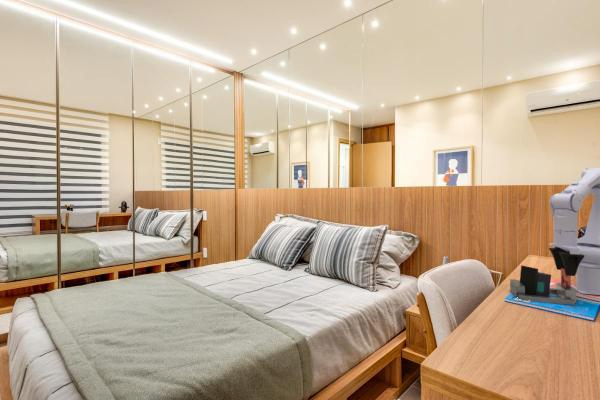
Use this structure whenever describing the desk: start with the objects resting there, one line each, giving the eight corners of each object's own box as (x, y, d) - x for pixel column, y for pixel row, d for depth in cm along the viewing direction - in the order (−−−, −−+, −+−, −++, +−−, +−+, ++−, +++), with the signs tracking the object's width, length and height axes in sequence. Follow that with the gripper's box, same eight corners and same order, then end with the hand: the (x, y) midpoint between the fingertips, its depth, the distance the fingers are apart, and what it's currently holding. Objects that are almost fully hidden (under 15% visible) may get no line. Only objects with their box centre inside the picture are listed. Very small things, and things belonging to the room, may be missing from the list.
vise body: (559, 293, 103) (559, 281, 103) (574, 305, 92) (574, 292, 92) (508, 288, 109) (508, 277, 109) (517, 299, 98) (517, 287, 98)
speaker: (530, 300, 97) (531, 268, 97) (518, 295, 103) (519, 265, 103) (554, 302, 97) (556, 270, 97) (541, 297, 103) (542, 267, 103)
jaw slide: (565, 295, 101) (565, 266, 100) (576, 303, 93) (576, 272, 93) (556, 294, 102) (555, 265, 101) (565, 302, 94) (565, 271, 94)
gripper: (542, 227, 105) (542, 266, 105) (558, 232, 92) (558, 277, 92) (568, 228, 102) (568, 268, 103) (588, 233, 89) (588, 279, 89)
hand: (565, 272), depth 97 cm, fingers open, 7 cm apart
